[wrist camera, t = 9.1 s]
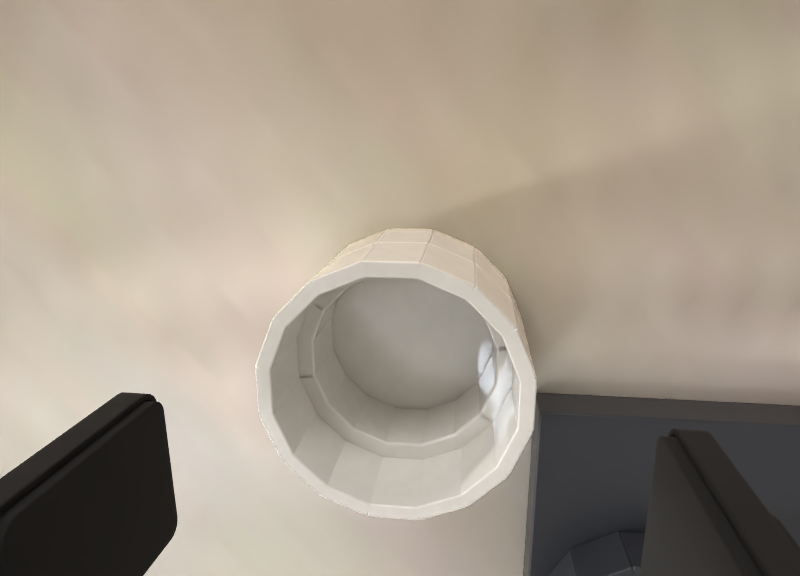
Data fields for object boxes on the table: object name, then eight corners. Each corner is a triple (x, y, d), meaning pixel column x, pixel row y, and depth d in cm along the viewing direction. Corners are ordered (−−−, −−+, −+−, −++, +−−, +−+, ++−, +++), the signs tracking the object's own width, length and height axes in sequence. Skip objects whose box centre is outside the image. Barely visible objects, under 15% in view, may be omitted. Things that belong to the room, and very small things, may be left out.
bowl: (315, 417, 20) (265, 509, 15) (306, 223, 18) (245, 258, 13) (513, 428, 19) (528, 530, 14) (525, 227, 17) (545, 265, 12)
